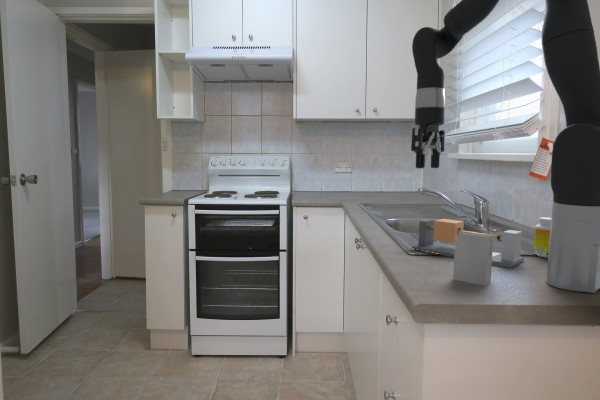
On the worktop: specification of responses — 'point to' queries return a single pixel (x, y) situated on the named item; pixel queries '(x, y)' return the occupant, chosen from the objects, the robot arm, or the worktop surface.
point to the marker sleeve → (447, 230)
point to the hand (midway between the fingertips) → (427, 168)
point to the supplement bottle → (542, 237)
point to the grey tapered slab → (473, 259)
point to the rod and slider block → (510, 237)
